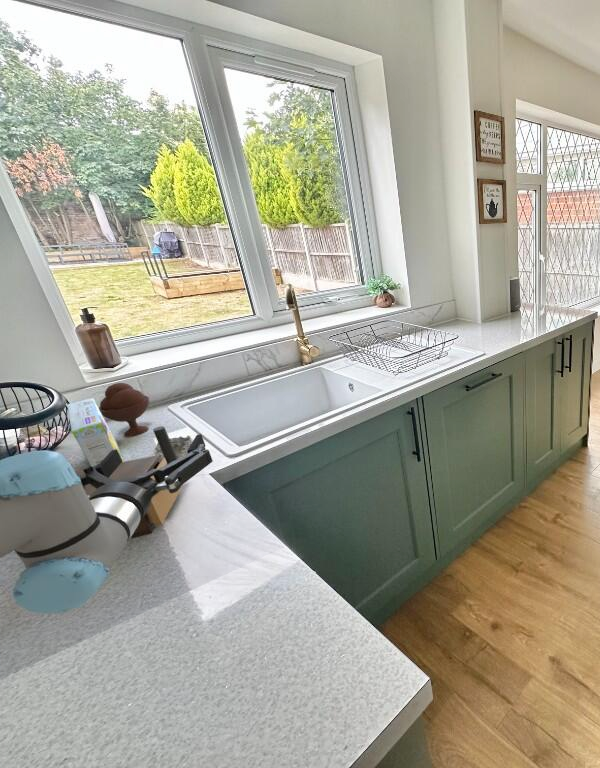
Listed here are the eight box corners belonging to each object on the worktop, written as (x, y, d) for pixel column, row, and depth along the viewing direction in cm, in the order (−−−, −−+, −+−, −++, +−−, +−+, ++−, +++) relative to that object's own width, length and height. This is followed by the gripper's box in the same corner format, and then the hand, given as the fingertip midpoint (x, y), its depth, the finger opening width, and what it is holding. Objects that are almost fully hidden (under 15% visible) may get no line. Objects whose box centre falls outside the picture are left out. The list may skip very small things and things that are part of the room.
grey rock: (191, 462, 105) (185, 448, 104) (154, 471, 102) (148, 457, 100) (196, 443, 114) (191, 430, 112) (162, 450, 110) (156, 437, 109)
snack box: (91, 454, 110) (65, 403, 104) (118, 446, 114) (95, 396, 108) (98, 487, 96) (69, 430, 90) (130, 476, 100) (104, 421, 94)
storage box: (174, 492, 94) (158, 454, 90) (151, 533, 82) (132, 492, 78) (85, 512, 88) (63, 473, 84) (46, 558, 76) (19, 516, 72)
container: (202, 481, 95) (175, 413, 88) (184, 519, 83) (151, 443, 76) (92, 505, 88) (54, 433, 81) (56, 549, 77) (7, 470, 70)
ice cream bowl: (101, 440, 117) (77, 392, 111) (139, 421, 127) (120, 376, 121) (132, 443, 115) (110, 394, 109) (169, 423, 125) (150, 378, 119)
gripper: (14, 559, 60) (88, 479, 78) (214, 512, 68) (238, 449, 87) (-14, 519, 57) (70, 445, 75) (199, 475, 65) (228, 418, 84)
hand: (160, 447), depth 81 cm, fingers open, 13 cm apart
